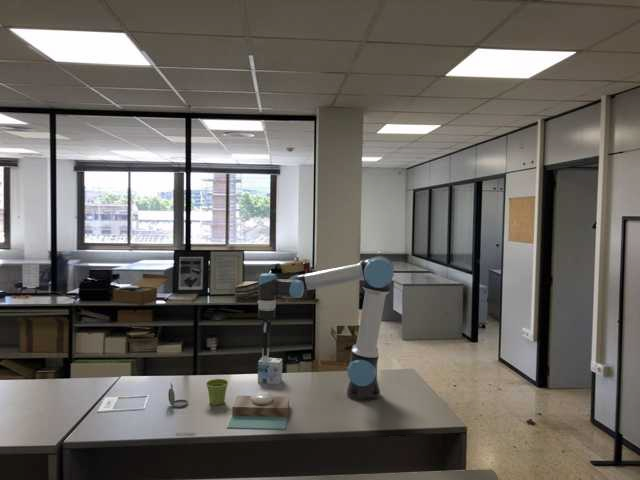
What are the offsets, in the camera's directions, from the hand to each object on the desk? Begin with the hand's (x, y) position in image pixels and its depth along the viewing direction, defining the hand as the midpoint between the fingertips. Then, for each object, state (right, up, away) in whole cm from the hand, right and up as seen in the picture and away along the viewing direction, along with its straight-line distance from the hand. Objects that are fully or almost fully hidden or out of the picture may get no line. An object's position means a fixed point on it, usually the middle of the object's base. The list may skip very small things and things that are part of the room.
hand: (265, 362), depth 212 cm
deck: (0, -17, -13) cm, 21 cm away
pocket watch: (-36, -16, -9) cm, 41 cm away
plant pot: (-20, -16, -5) cm, 26 cm away
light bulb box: (0, -15, +22) cm, 27 cm away
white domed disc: (0, -13, -12) cm, 17 cm away
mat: (0, -18, -24) cm, 30 cm away
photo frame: (-58, -16, -9) cm, 61 cm away
